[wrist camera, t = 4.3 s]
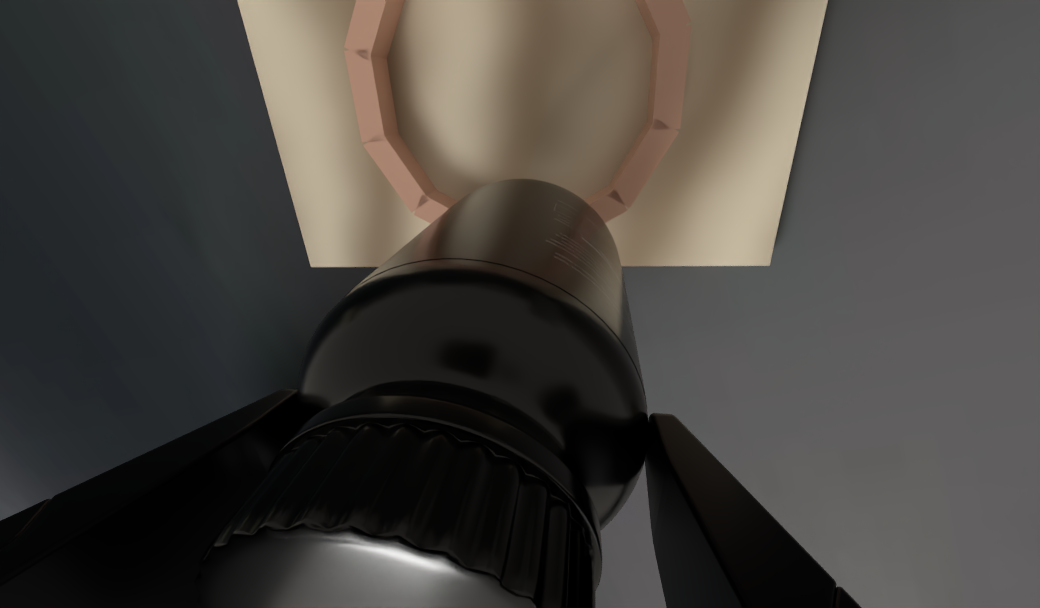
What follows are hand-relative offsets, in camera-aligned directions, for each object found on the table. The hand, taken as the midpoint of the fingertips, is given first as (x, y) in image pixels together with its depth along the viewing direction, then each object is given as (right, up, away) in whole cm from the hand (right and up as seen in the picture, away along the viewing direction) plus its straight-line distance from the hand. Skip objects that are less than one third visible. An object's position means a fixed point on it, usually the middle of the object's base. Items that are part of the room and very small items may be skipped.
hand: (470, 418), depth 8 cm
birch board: (+1, +11, +9) cm, 15 cm away
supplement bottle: (+1, +4, +7) cm, 8 cm away
